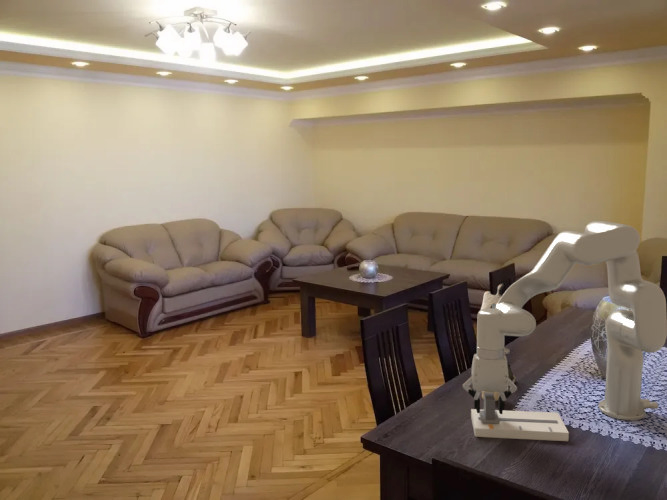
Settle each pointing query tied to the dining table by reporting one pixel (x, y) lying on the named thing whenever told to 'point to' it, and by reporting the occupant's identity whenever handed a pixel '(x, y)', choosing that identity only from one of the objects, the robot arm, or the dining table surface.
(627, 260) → the robot arm
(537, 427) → the fader console
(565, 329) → the dining table surface
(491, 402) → the fader tab
